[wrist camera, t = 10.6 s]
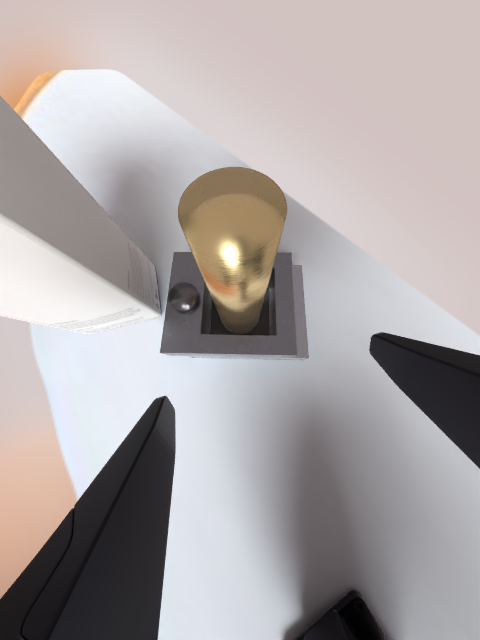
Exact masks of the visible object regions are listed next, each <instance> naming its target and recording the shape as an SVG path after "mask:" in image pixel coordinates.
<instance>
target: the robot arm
mask: <svg viewBox="0 0 480 640" xmlns="http://www.w3.org/2000/svg"><path fill="white" fill-rule="evenodd" d="M369 351H370V354H371V355H372V356H373V358H374V359H375V360H376V361H377V362H378V364H379V365H380V366H381V367H382V368H383V370H384V371H385V372H386V373H387V374H388V376H389V377H390V378H391V379H392V380H393V382H394V383H395V384H396V385H397V386H398V387H399V388H400V389H401V390H402V391H403V392H404V393H405V394H406V395H407V396H408V397H409V398H410V399H411V400H412V401H413V402H414V403H415V404H416V405H417V406H418V407H419V408H420V409H421V410H422V411H423V412H424V413H425V414H426V415H427V416H428V417H429V418H430V419H431V420H432V421H433V422H434V423H435V424H436V425H437V426H438V427H439V428H440V429H441V430H442V431H443V432H444V433H445V434H446V435H447V436H448V437H449V438H450V439H451V440H452V441H453V442H454V443H455V444H456V445H457V446H458V447H459V448H460V449H461V450H462V451H463V452H464V453H465V454H466V455H467V456H468V457H469V458H470V459H471V460H472V461H473V462H474V463H475V464H476V465H477V466H478V467H479V468H480V355H475V354H471V353H467V352H463V351H459V350H455V349H451V348H446V347H442V346H438V345H434V344H430V343H426V342H421V341H417V340H413V339H409V338H405V337H401V336H396V335H392V334H388V333H384V332H381V333H377V334H374V335H372V337H371V342H370V348H369ZM174 464H175V409H174V407H173V405H172V404H171V402H170V400H169V399H168V397H167V396H162V397H159V398H156V399H155V400H154V401H153V402H152V404H151V405H150V406H149V408H148V409H147V410H146V412H145V413H144V414H143V416H142V417H141V418H140V420H139V421H138V422H137V424H136V425H135V426H134V428H133V429H132V430H131V432H130V433H129V434H128V435H127V437H126V438H125V439H124V441H123V442H122V443H121V445H120V446H119V447H118V449H117V450H116V451H115V453H114V454H113V455H112V457H111V458H110V459H109V461H108V462H107V463H106V465H105V466H104V467H103V468H102V470H101V471H100V472H99V474H98V475H97V476H96V478H95V479H94V480H93V482H92V483H91V484H90V486H89V487H88V488H87V490H86V491H85V492H84V494H83V495H82V496H81V498H80V499H79V500H78V502H77V503H76V504H75V506H74V508H73V509H71V511H70V512H69V513H68V515H67V516H66V517H65V519H64V520H63V521H62V522H61V524H60V525H59V527H58V528H57V529H56V530H55V532H54V533H53V534H52V535H51V537H50V538H49V539H48V541H47V542H46V543H45V545H44V546H43V547H42V548H41V550H40V551H39V552H38V554H37V555H36V556H35V557H34V559H33V560H32V561H31V562H30V563H29V565H28V566H27V567H26V568H25V570H24V571H23V572H22V573H21V574H20V576H19V577H18V578H17V579H16V581H15V582H14V583H13V584H12V586H11V587H10V588H9V589H8V591H7V592H6V593H5V594H4V595H3V597H2V598H1V599H0V640H158V630H159V619H160V609H161V599H162V588H163V578H164V568H165V557H166V547H167V536H168V526H169V516H170V505H171V495H172V485H173V474H174ZM356 602H359V604H358V605H355V604H356ZM297 640H387V639H386V637H385V635H384V634H383V632H382V630H381V628H380V627H379V625H378V623H377V622H376V620H375V618H374V616H373V615H372V613H371V611H370V610H369V608H368V606H367V604H366V603H365V601H364V599H363V598H362V596H361V594H360V593H359V592H358V591H356V590H353V591H351V592H350V593H349V594H347V595H346V596H345V597H344V598H343V599H342V600H341V601H340V602H339V603H337V604H336V605H335V606H334V607H333V608H332V609H331V610H330V611H328V612H327V613H326V614H325V615H324V616H323V617H322V618H321V619H320V620H318V621H317V622H316V623H315V624H314V625H313V626H312V627H311V628H309V629H308V630H307V631H306V632H305V633H304V634H303V635H302V636H301V637H299V638H298V639H297Z"/></svg>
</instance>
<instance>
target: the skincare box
mask: <svg viewBox="0 0 480 640" xmlns="http://www.w3.org/2000/svg"><path fill="white" fill-rule="evenodd" d="M0 316H3V317H8V318H12V319H17V320H22V321H27V322H32V323H36V324H41V325H46V326H51V327H55V328H60V329H64V330H69V331H73V332H78V333H83V334H91V333H96V332H100V331H104V330H108V329H112V328H117V327H121V326H125V325H129V324H133V323H137V322H141V321H146V320H150V319H154V318H157V317H160V316H161V309H160V301H159V293H158V286H157V278H156V271H155V266H154V264H153V263H152V262H151V261H150V260H149V259H148V258H147V257H146V256H145V254H144V253H143V252H142V251H141V250H140V249H139V248H138V247H137V246H136V245H135V243H134V242H133V241H132V240H131V239H130V238H129V237H128V236H127V235H126V233H125V232H124V231H123V230H122V229H121V228H120V227H119V226H118V225H117V223H116V222H115V221H114V220H113V219H112V218H111V217H110V216H109V215H108V214H107V213H106V211H105V210H104V209H103V208H102V207H101V206H100V205H99V204H98V203H97V201H96V200H95V199H94V198H93V197H92V196H91V195H90V194H89V193H88V191H87V190H86V189H85V188H84V187H83V186H82V185H81V184H80V183H79V182H78V180H77V179H76V178H75V177H74V176H73V175H72V174H71V173H70V172H69V170H68V169H67V168H66V167H65V166H64V165H63V164H62V163H61V162H60V161H59V159H58V158H57V157H56V156H55V155H54V154H53V153H52V152H51V151H50V149H49V148H48V147H47V146H46V145H45V144H44V143H43V142H42V141H41V139H40V138H39V137H38V136H37V135H36V134H35V133H34V132H33V131H32V130H31V128H30V127H29V126H28V125H27V124H26V123H25V122H24V121H23V120H22V118H21V117H20V116H19V115H18V114H17V113H16V112H15V111H14V110H13V109H12V108H11V107H10V105H9V104H8V103H7V102H6V101H5V100H4V99H3V98H2V97H1V96H0Z"/></svg>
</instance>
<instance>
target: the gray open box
mask: <svg viewBox="0 0 480 640" xmlns="http://www.w3.org/2000/svg"><path fill="white" fill-rule="evenodd" d="M267 288H269V321H270V336H268V335H210V326H211V311H212V297H211V295H210V293H209V290H208V288H207V286H206V283H205V281H204V279H203V276H202V274H201V272H200V269H199V267H198V265H197V262H196V260H195V258H194V255H193V253H192V252H174V255H173V263H172V270H171V277H170V284H169V292H168V299H167V306H166V313H165V320H164V328H163V335H162V342H161V349H160V353H163V354H167V355H181V356H190V357H193V358H238V359H286V360H303V359H307V358H309V356H308V343H307V330H306V317H305V304H304V291H303V279H302V266H301V265H292V261H291V253H276V256H275V260H274V264H273V268H272V272H271V275H270V279H269V283H268V287H267Z"/></svg>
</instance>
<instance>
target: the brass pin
mask: <svg viewBox="0 0 480 640" xmlns="http://www.w3.org/2000/svg"><path fill="white" fill-rule="evenodd" d="M286 214H287V204H286V199H285V196H284V194H283V192H282V190H281V189H280V187H279V186H278V185H277V184H276V183H275V182H274V181H273V180H272V179H271V178H269V177H268V176H266V175H264V174H262V173H260V172H258V171H255V170H252V169H248V168H242V167H227V168H221V169H216V170H213V171H210V172H208V173H206V174H204V175H202V176H200V177H199V178H197V179H196V180H194V181H193V182H192V183H191V184H190V185H189V186H188V187H187V189H186V190H185V191H184V193H183V195H182V197H181V199H180V202H179V206H178V218H179V222H180V225H181V227H182V230H183V232H184V234H185V237H186V239H187V241H188V244H189V246H190V248H191V251H192V253H193V255H194V258H195V260H196V262H197V265H198V267H199V269H200V272H201V274H202V276H203V279H204V281H205V283H206V286H207V288H208V290H209V293H210V295H211V297H212V300H213V302H214V304H215V307H216V309H217V311H218V314H219V316H220V318H221V321H222V323H223V325H224V326H225V327H226V328H227V329H228V330H229V331H231V332H233V333H238V334H242V333H247V332H249V331H251V330H252V329H253V328H254V327H255V326H256V325H257V323H258V321H259V317H260V313H261V310H262V306H263V302H264V298H265V294H266V291H267V287H268V283H269V279H270V275H271V272H272V268H273V264H274V260H275V256H276V253H277V249H278V245H279V241H280V237H281V234H282V230H283V226H284V222H285V218H286Z"/></svg>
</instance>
